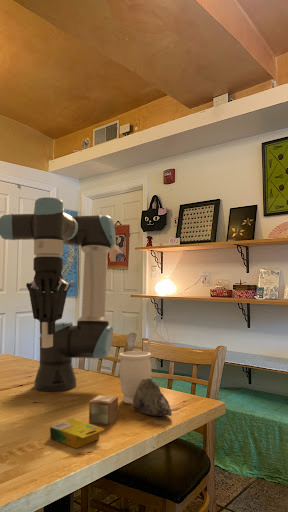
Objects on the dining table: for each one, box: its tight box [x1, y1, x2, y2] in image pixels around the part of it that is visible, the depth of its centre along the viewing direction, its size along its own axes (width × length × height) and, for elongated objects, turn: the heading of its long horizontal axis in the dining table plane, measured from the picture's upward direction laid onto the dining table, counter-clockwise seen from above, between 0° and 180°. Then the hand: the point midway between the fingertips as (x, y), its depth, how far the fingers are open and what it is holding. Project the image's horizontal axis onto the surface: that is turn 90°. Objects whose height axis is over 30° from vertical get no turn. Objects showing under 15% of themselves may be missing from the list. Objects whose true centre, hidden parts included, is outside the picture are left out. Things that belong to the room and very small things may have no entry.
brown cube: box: [88, 394, 119, 427], centre depth 106 cm, size 6×6×6 cm
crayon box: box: [49, 418, 105, 449], centre depth 93 cm, size 7×3×12 cm
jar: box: [118, 350, 152, 405], centre depth 126 cm, size 11×10×15 cm
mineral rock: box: [131, 377, 172, 417], centre depth 112 cm, size 13×11×10 cm
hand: (47, 347), depth 102 cm, fingers closed
